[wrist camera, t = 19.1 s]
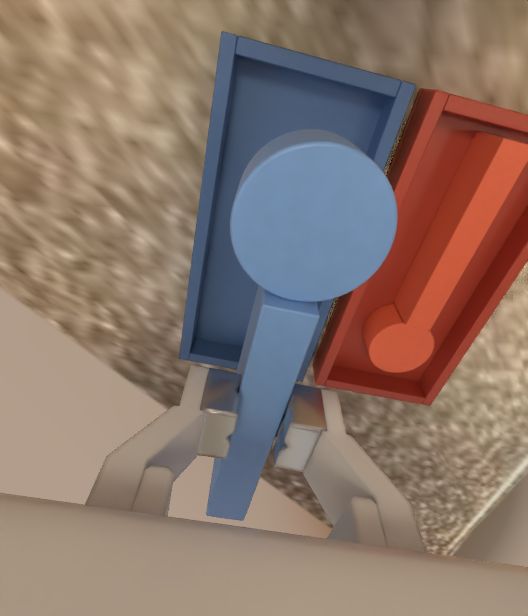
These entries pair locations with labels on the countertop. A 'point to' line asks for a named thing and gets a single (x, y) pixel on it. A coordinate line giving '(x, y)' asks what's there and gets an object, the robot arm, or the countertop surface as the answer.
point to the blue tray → (241, 149)
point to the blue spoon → (295, 278)
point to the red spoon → (444, 253)
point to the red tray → (408, 238)
